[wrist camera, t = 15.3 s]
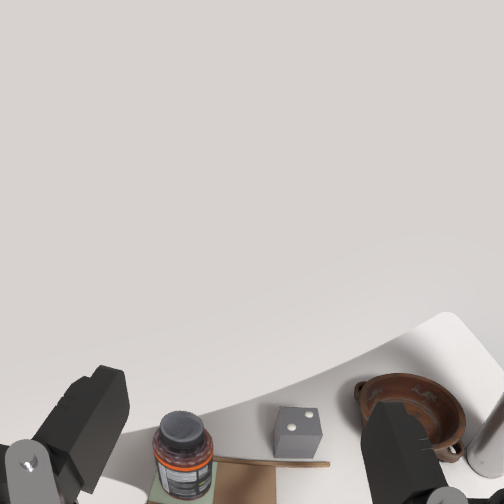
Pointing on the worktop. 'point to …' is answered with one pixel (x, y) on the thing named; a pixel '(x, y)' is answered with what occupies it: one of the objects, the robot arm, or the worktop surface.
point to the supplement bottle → (183, 456)
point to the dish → (419, 408)
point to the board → (235, 483)
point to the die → (297, 432)
